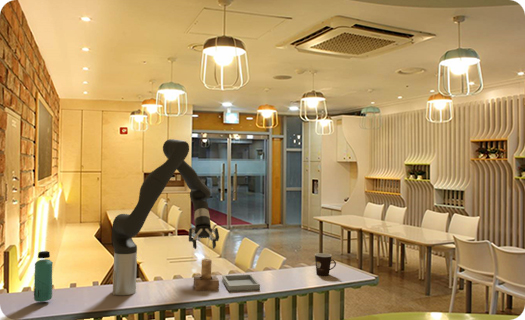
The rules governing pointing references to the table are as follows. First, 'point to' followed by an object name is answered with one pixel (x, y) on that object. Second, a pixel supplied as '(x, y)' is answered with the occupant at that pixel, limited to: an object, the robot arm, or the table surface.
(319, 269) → the coffee mug
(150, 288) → the table surface
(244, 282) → the slate grey tray
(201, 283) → the walnut block
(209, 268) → the oak dowel
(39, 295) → the beverage bottle
